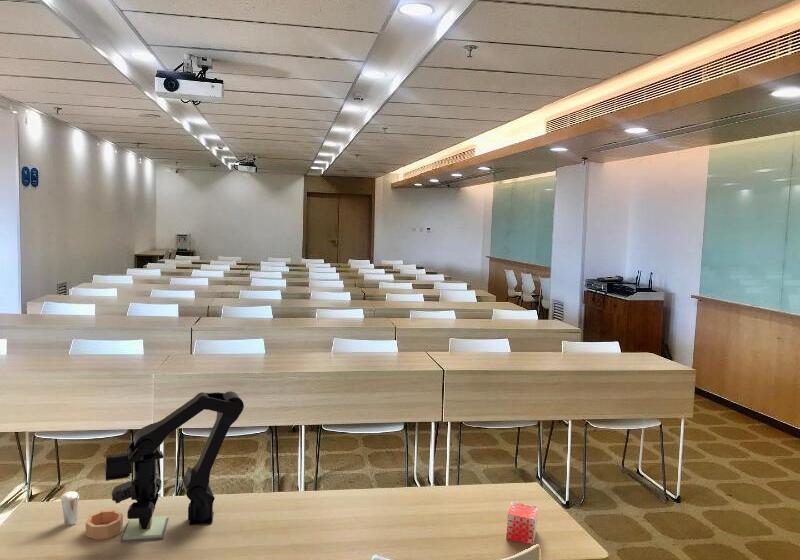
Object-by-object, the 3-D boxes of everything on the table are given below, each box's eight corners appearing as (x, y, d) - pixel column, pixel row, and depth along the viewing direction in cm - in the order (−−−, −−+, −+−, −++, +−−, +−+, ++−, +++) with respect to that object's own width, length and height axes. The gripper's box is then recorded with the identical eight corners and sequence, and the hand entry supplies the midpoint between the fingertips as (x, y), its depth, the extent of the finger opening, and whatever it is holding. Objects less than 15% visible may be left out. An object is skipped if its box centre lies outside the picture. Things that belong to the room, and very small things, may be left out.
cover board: (166, 518, 180) (166, 502, 179) (161, 537, 170) (161, 519, 170) (130, 521, 178) (130, 504, 177) (122, 540, 168) (122, 522, 167)
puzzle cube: (533, 545, 177) (535, 519, 176) (505, 539, 179) (507, 513, 178) (536, 531, 184) (538, 506, 183) (510, 525, 187) (511, 501, 186)
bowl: (124, 522, 178) (124, 509, 177) (118, 538, 169) (118, 525, 169) (91, 524, 176) (91, 511, 175) (83, 541, 167) (82, 527, 167)
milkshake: (74, 528, 173) (73, 495, 172) (58, 525, 174) (57, 492, 173) (85, 520, 178) (85, 488, 176) (69, 517, 179) (68, 485, 177)
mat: (168, 519, 181) (168, 517, 181) (163, 539, 170) (163, 538, 170) (128, 521, 178) (128, 520, 178) (120, 542, 168) (120, 541, 167)
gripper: (121, 461, 179) (122, 511, 181) (106, 491, 161) (107, 546, 163) (161, 459, 182) (161, 508, 184) (151, 488, 164) (151, 543, 166)
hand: (145, 525), depth 174 cm, fingers closed on cover board, 3 cm apart
